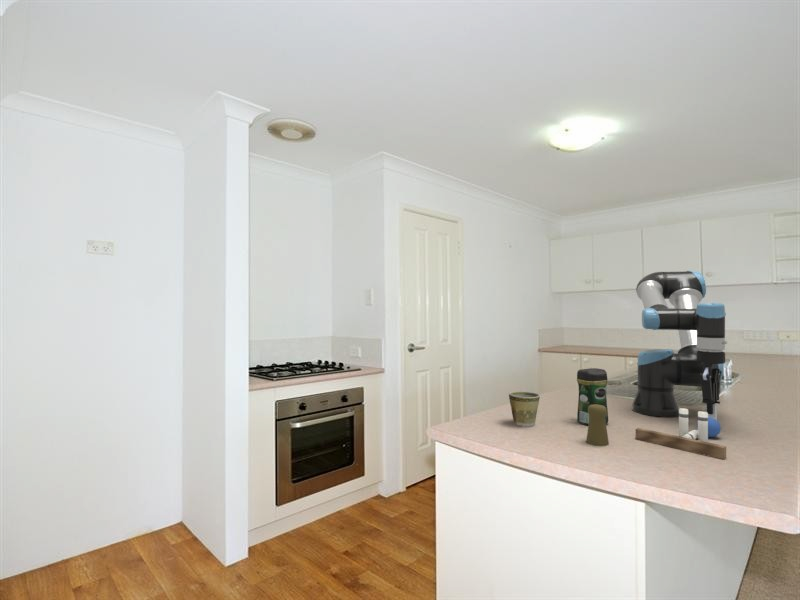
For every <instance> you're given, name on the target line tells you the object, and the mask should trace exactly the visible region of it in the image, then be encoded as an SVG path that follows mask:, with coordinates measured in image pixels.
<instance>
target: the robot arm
mask: <svg viewBox="0 0 800 600" xmlns="http://www.w3.org/2000/svg"><path fill="white" fill-rule="evenodd" d="M635 290H636V291H635V293H636V295H637V297H638V298H639V300H641V302H642V305H643V307H644V309H643V310H642V312H641V325H642V328H643V329H645V330H653V331H657V330H663V331H665V330H667V331H668V330H669V331H671V330H672V331H676V330H677V332H678V337H679V344H680V348H679V349H678V351H677V353H675V351H674V350H673V349H670V348H664V349H663V348H662V349H661V348H660V349H658V348H657V349H656V348H655V349H649V350H643V351H640V352H639V353H638V356H637V362H636V365H637V390H636V391H637V392H636V393H635V397H634V399H633V401H632V410H633V412H635V413H638V414H642V415H647V416H653V417H654V416H655V417H666V418H667V417H668V418H669V417H671V418H672V417H677V416H678V417H679V408H680V407H679V405H678V402H677V399H676V395H675V393H674V387H675V386H682V387H683V386H684V387H697V388H698V387H700V388H701V393H702V401H701V403H703V404H705V405H704V406H705V411H704V412H707V413H708V417H711V418H714V419H715V420H717V421H718V404H719V405H720V404H721V401H720V393H721V392H720V391H721V389H720V388H721V383H722V380H723V375H724V364H725V363H726V352H725V350H726V344H728V341H727V340H726V308H725V304H724V303H722V302H702V300H703V299H704V298H705V297H706V295H707V294H706V293H707V286H706V280H705V277H704V275H703V274H702V273H701V272H699V271H695V270H685V271H656V272H652V273H650V274H647V275H646V276H644V277H642V278H641V279H640V280H639V281H638V282H637V285H636V288H635ZM666 300H668V302H669V303H670V304H671V305H672V306H674V308H669V306H668V303H667V301H666Z"/></svg>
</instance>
